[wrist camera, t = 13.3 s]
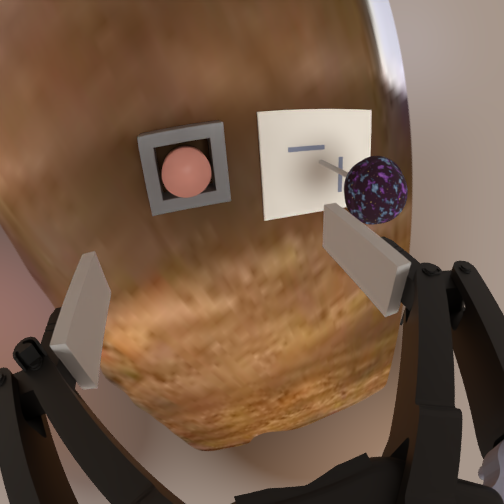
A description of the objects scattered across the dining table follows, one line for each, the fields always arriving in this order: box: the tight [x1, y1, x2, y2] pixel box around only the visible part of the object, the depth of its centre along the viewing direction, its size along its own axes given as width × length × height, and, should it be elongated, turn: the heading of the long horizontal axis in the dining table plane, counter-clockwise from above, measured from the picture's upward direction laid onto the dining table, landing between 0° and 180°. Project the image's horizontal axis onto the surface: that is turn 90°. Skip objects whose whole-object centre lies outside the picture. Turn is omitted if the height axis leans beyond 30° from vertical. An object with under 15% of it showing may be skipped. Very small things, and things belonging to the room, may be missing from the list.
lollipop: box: [319, 156, 407, 224], centre depth 30 cm, size 7×7×15 cm
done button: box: [162, 145, 211, 198], centre depth 30 cm, size 5×5×3 cm
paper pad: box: [257, 109, 371, 221], centre depth 37 cm, size 14×16×1 cm
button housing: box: [137, 120, 231, 216], centre depth 31 cm, size 9×9×3 cm
